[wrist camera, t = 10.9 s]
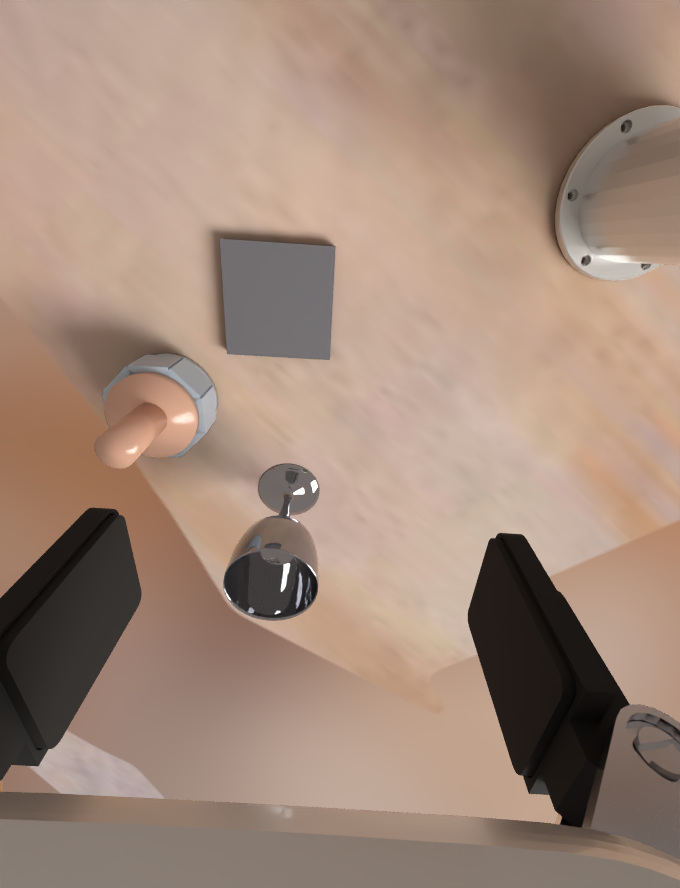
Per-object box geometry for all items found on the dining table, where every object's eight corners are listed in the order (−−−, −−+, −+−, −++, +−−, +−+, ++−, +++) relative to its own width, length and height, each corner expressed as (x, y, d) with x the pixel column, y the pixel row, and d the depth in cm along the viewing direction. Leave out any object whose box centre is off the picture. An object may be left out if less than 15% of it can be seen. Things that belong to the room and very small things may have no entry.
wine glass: (241, 479, 46) (203, 574, 33) (299, 449, 45) (284, 535, 31) (279, 527, 49) (259, 632, 36) (335, 500, 48) (335, 599, 34)
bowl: (214, 355, 40) (199, 369, 35) (220, 437, 44) (207, 458, 39) (122, 350, 39) (95, 363, 35) (137, 433, 43) (114, 454, 39)
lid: (195, 374, 36) (161, 404, 29) (203, 453, 39) (174, 497, 32) (103, 369, 35) (46, 398, 28) (119, 449, 39) (73, 493, 32)
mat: (335, 246, 36) (335, 246, 35) (329, 357, 40) (329, 359, 39) (222, 238, 35) (219, 238, 34) (229, 351, 40) (227, 354, 39)
